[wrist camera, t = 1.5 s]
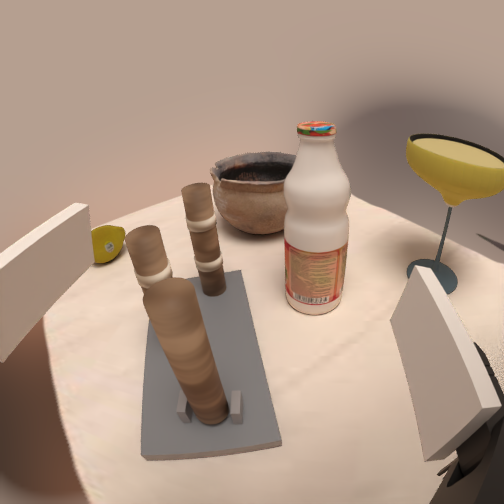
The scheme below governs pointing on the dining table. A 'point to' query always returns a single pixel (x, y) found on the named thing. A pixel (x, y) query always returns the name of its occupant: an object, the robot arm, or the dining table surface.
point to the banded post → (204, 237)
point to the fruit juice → (316, 222)
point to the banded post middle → (148, 256)
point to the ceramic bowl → (252, 190)
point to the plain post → (187, 346)
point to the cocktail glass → (453, 182)
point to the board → (232, 378)
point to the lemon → (107, 242)
